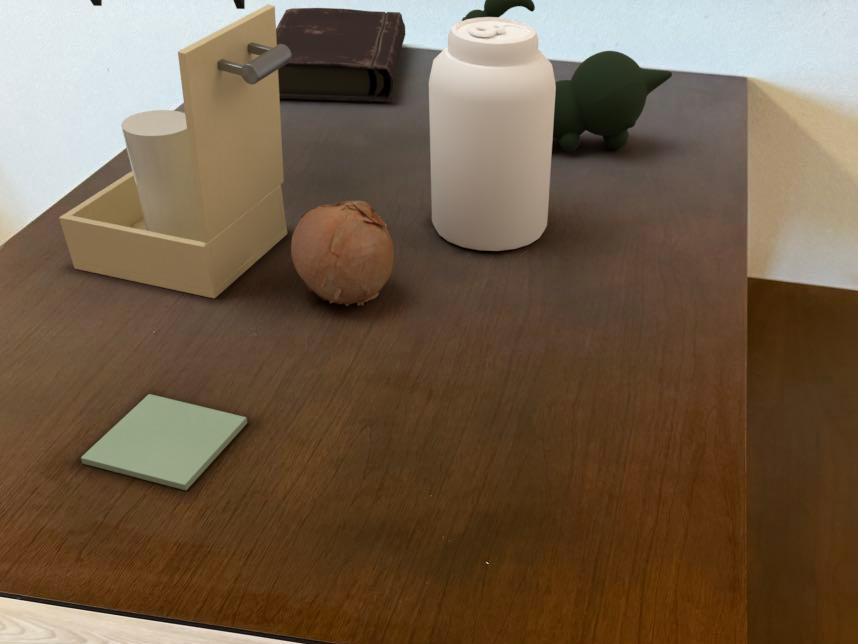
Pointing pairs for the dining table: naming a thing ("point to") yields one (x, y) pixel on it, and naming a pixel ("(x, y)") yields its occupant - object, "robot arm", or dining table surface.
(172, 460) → the mat
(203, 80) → the lid
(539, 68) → the can
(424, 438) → the dining table surface
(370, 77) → the diary
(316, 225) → the onion
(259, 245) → the beige shallow open box
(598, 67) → the toy figurine
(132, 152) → the canister
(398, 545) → the dining table surface
